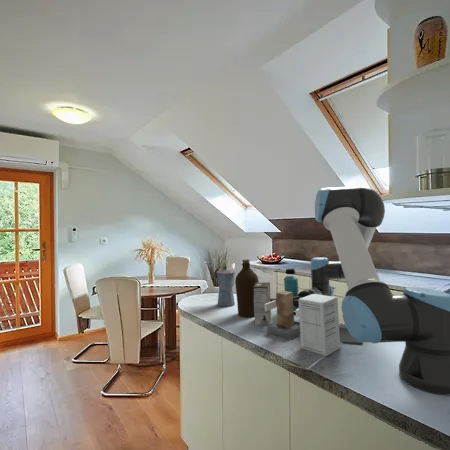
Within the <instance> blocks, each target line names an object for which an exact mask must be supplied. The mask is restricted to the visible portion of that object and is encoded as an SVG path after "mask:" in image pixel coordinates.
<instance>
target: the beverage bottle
mask: <svg viewBox="0 0 450 450" xmlns="http://www.w3.org/2000/svg"><path fill="white" fill-rule="evenodd" d="M285 274H286V276H285V277H283V282H284V283H283V284H284V285H283V286H284V287H283V288H284V291H288V292H293V297H296V296H298V294H299V293H300V292H299V283H298V281H299V280H298V279H299V278H298V277H297V276H295V274H296V271H295V268H286V269H285ZM296 309H299V307H297V306H293V311H294V312H296Z"/></svg>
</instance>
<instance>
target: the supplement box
mask: <svg viewBox="0 0 450 450" xmlns="http://www.w3.org/2000/svg"><path fill="white" fill-rule="evenodd" d="M338 301H339V300H338V297H337V296H325V295H318V294H311V295H309V296H306V297H303V298H300V299H299V317H298V318H299V322H300V336H299V337H300V348H301V349H304V350H306V351H309V352H312V353H316V354H319V355H322V356H323V357H328V356H329V355H331V354H332V353H334V352H336V351H337V350H340V349H341V342H340V335H339V327H340V321H339V320H340V319H339V318H340V317H339V303H338Z"/></svg>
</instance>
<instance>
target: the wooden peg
mask: <svg viewBox="0 0 450 450" xmlns="http://www.w3.org/2000/svg"><path fill="white" fill-rule="evenodd" d="M275 294H276V295H275V298H276V302H277V306H276V321H277V324H278V326H281V327H286V328H289V327H291V326H293V325H294V321H295V319H294V318H295V317H294V316H295V315H294V312H295V311H293V292H288V291H285V290H280V291H278V292H276V293H275Z"/></svg>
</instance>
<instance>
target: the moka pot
mask: <svg viewBox="0 0 450 450" xmlns="http://www.w3.org/2000/svg"><path fill="white" fill-rule="evenodd" d="M223 268H224V269H220V268H218V267H217V268H216V270H215V272H214V274H215V280H216V284H217V285H216V286H218V296H217V306H219V307H222V306H230V307H233V306H235V304H236V303H235V297H234V286H235V285H234V284H235V275H236V272H235V270H233V269H227V268H228V267H227V266H226V265H225V266H223ZM232 305H233V306H232Z"/></svg>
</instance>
